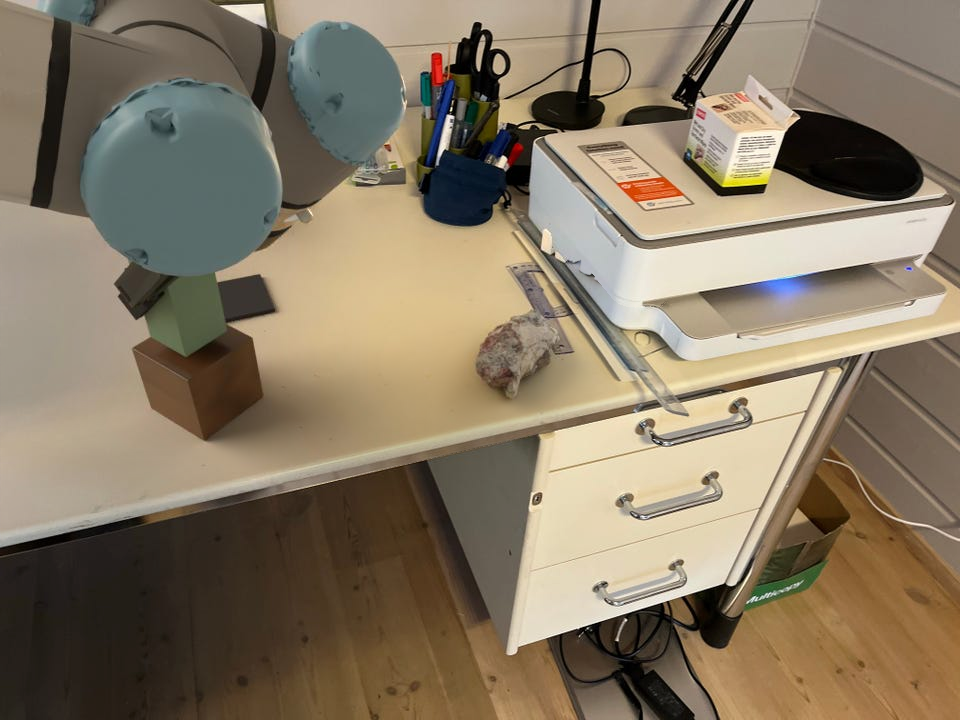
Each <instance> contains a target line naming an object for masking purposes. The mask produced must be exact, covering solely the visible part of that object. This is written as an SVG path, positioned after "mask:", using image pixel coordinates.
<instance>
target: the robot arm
mask: <svg viewBox="0 0 960 720" xmlns="http://www.w3.org/2000/svg"><path fill="white" fill-rule="evenodd" d="M397 63H398V62H396V60H395V59H394V57H393V55H392V53H390V51H389V50H388V49H387V47H386V46H385V45H384V44H383V43H382V42H381V41H380V40H379V39H378V38H377V37H375V36H374V35H373V34H372V33H370V32H369V31H367V30H366V29H364V28H362V27H361V26H359V25H356V24H354V23H352V22H349V21H331V20H322V21H319V22H317V23H315V24H313V25H312V26H310V27H309V28H307V30H305V31H304V32H300V35H297V36H296V37H295V38H294V39H292V38H291V37H288V36H286V35H284V34H282V33H280V32H278V31H276V30H274V29H271V28H268V27H267V28H266V27H264V26H262V25H261V24H258V23H255V22H253V21H251V20H249V19H247V18H245V17H243V16H241V15H240V14H237V13H235V12H233V11H231V10H228V9H227V8H225V7H222V6H221V5H219V4H217V3H215V2H212V1H210V0H38V3H37V8H36V9H35V8H32V7H28V6H25V5H22V4H18V3H17V2H12V1H9V0H0V201H3V202H8V203H13V204H19V205H26V206H29V207H32V208H39V209H44V210H48V211H53V212H57V213H59V214H64V215H70V216H76V217H82V218H87V219H89V220H90V221H91V222H92V223H93V225H94V227H95V229H96V230H97V232H98V233H99V235H100V236H101V237H102V239H103V240H104V241H105V243H107V245H108V246H109V247H110V248H112V249H113V250H115V251H116V252H118V253H119V254H120V255H122V256H123V257H124V258H125V259H126V260H128V259H129V260H131V261H132V262H131V263H130V265H129V264H128V266H127V267H125V268H124V269H123V272H122V273H121V274H120V275H119V277H118V278H117V279H116V280H115V281H114V283H113V285H114V287H115V288H116V290H118V292H119V294H118V295H117V298H118V299H119V301H120V302H121V303H122V304H123V306H124V307H125V308H126V309H127V311H128V312H129V314H130V315H131V316H132V317H133V318H134V320H135V321H138V320H140V319H141V318H143V317H145V316H144V315H145V314H146V313H147V312H148V311H149V310H150V309H151V308H152V307H153V306H154V304H155V303H156V302H157V301H158V300H159V299H160V298H161V297H162V296H163V295H164V294H165V293H164V292H163V290H165V289H166V288H167V287H168V286H169V285H171V284H172V283H173V282H174V281H175V280H176V279H178V278H179V277H180V276H198V275H205V274H210V273H215V274H216V273H217V272H220V271H224V270H226V269H229V268H231V267H233V266H236V265H237V264H238V263H240V262H243V261H244V260H245V259H247V258H249V257H250V256H252V254H253V253H256V252H260V251H262V250H265V249H267V248H269V247H270V246H271V245H273V244H274V243H275V242H276V241H278V240H279V238H281V237H282V236H283V235H285V234H286V233H287V231H288V230H289V229H291V228H292V227H293V225H294V224H295V223H297V221H298V220H299V221H300V223H302V224H308V223H310V222H311V221H312V220H313V218H314V214H313V212H312V211H310V209H311V208H313V207H314V206H316V205H317V204H318V203H319V202H320V201H321V200H323V199H324V198H325V197H326V196H327V195H329V194H330V193H331V192H332V191H333V190H334V189H336V188H337V187H338V186H339V185H341V184H342V183H343V182H344V181H345V180H347V179H348V178H349V177H351V175H353V174H354V172H356V171H357V170H359V169H360V168H361V167H362V166H363V165H365V164H367V163H369V162H370V161H372V160H373V158H374V157H375V156H376V155H377V153H378V151H379V150H380V149H381V148H382V147H384V145H385V144H386V143H388V141H389V140H390V139H391V137H392V136H393V135H394V133H395V132H396V131H397V130H398V129H399V127H401V126H400V125H401V124H402V122H403V120H404V118H405V115H406V109H407V106H408V105H407V104H408V101H407V89H406V84H405V80H404V78H403V77H404V76H403V74H402V72H401V69H400V68H399V65H398V64H397Z"/></svg>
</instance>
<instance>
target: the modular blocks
mask: <svg viewBox="0 0 960 720" xmlns="http://www.w3.org/2000/svg"><path fill="white" fill-rule="evenodd" d="M540 251H543V252H544V253H546V254H548V255H553V254H554V258H555V259H557V260H558V261H561V262H562V263H567V262H566V261H565V260H564V259H563V257H562V256H561V255H560V254H559V253H558V252H556V248H555V247H554V248H552V236H551V233H550V232H549V231H548V230H547V229H546V228H544V229H542V236H541V245H540Z"/></svg>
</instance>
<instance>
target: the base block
mask: <svg viewBox="0 0 960 720" xmlns="http://www.w3.org/2000/svg"><path fill="white" fill-rule="evenodd" d="M226 328H227V331H226V332H225V333H223V334H222V335H220V336H218V337H217V338H215V339H214V340H212V341H211V342H209V343H207V344H206V345H204V346H203V347H201V348H200V349H198V350H196V351H195V352H193V353H192V354H190V355H189V356H187V357H185V356H183V355H181V354H180V353H178V352H176V351H174V350H173V349H171V348H169V347H167V346H165V345H164V344H162V343H160V342H158V341H157V340H155V339H153V338H151V337H150V336H149V337H148V338H146V339H144V340H143V341H140V342H139V343H138V344H136V345H135V346H133V347H131V351H132V354H133V357H134V361H135V363H136V366H137V369H138V372H139V376H140V378H141V381H142V382H141V383H142V385H143V388H144V391H145V394H146V397H147V400H148V403H149V406H150V408H151V410H154V411H155V412H157V413H158V414H160V415H161V416H164V417H165V418H167V419H168V420H169V421H172V422H173V423H175V424H176V425H178V426H179V427H181V428H183V429H184V430H186V431H188V432H189V433H190V434H192V435H194V436H196V437H197V438H199V439H200V440H202V441H205V442H206V440H208V439H209V438H210V437H212V436H213V435H214V434H216V433H217V432H218V431H220V430H221V429H223V428H224V427H225V426H226V425H228V424H229V423H230V422H232V421H233V420H234V419H236V418H238V416H240V415H241V414H242V413H243V412H245V411H246V410H248V409H249V408H250V407H252V406H253V405H255V404H256V403H257V402H258V401H260V400H261V399H262V398H264V391H263V386H262V381H261V374H260V370H259V364H258V357H257V353H256V349H255V348H256V347H255V342H254V338H253V337H252V336H250V335H248V334H246V333H245V332H243V331H241V330H239V329H238V328H235V327H233V326H231V325H229V324H227V323H226Z"/></svg>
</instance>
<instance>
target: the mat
mask: <svg viewBox="0 0 960 720" xmlns="http://www.w3.org/2000/svg"><path fill="white" fill-rule="evenodd" d="M217 284H218V289H219V294H220V299H221V304H222V308H223V313H224V318H225V323H229V322H233V321H238V320H243V319H248V318H253V317H257V316H261V315H267V314H271V313H276V309H275V306H274V304H273V301H272V299H271V296H270V294H269V292H268V289H267V287H266V284H265V282H264V279H263V277H262V275H261V273H257V274H252V275H246V276H242V277H237V278H232V279H231V278H230V279H227V280H221V281H217Z"/></svg>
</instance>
